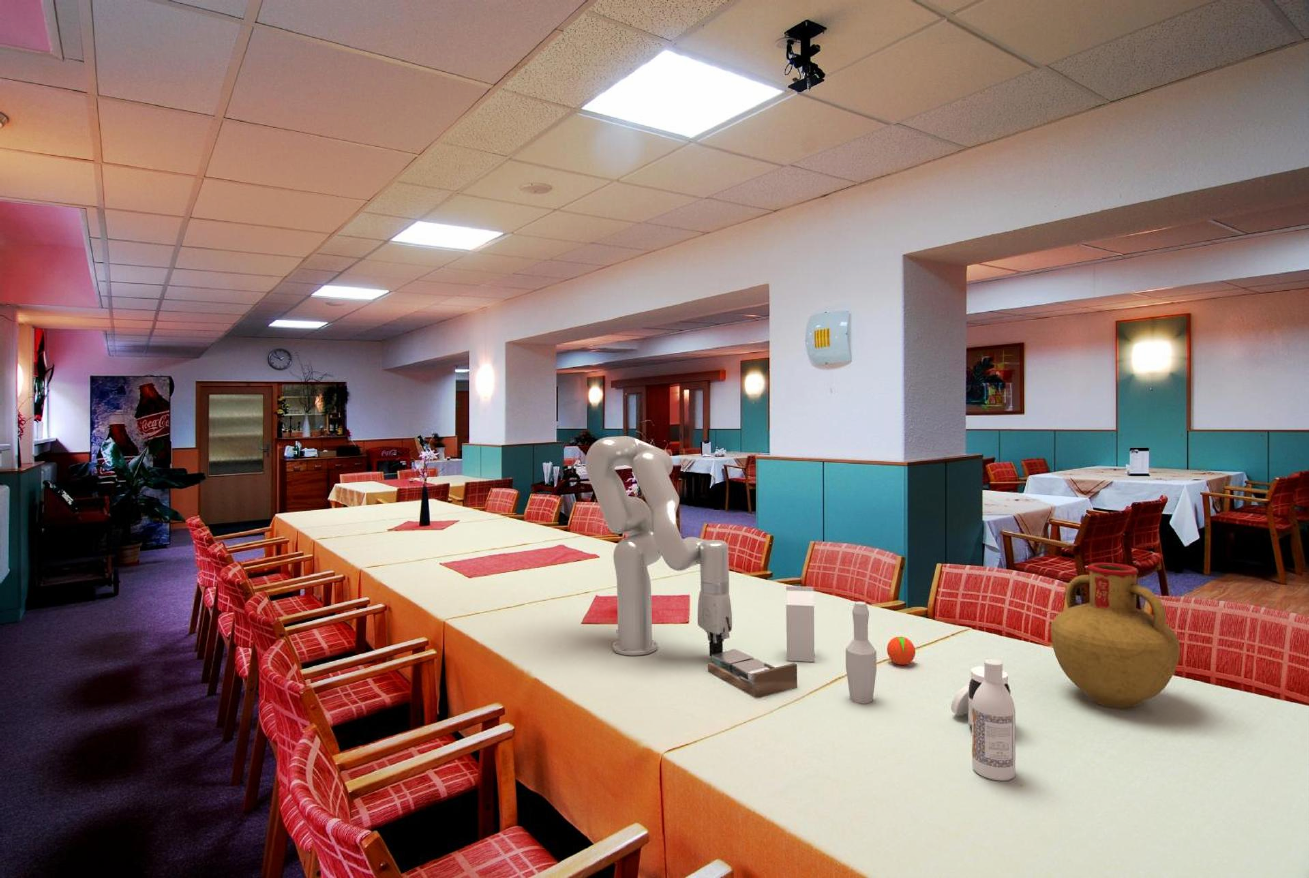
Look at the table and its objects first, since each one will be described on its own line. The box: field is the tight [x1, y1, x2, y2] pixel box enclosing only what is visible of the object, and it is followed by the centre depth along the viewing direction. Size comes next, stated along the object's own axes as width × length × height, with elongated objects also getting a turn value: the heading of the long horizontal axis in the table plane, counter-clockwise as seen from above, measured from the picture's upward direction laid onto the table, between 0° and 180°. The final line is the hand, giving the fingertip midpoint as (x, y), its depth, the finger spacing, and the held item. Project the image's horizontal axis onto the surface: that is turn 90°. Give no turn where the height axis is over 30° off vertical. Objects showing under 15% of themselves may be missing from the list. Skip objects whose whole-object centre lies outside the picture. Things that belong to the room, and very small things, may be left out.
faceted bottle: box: [845, 601, 878, 705], centre depth 155 cm, size 6×6×22 cm
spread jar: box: [950, 665, 1012, 729], centre depth 142 cm, size 12×11×12 cm
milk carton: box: [785, 585, 816, 663], centre depth 183 cm, size 7×7×19 cm
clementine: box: [886, 636, 916, 666], centre depth 176 cm, size 8×7×7 cm
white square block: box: [731, 658, 766, 680], centre depth 168 cm, size 8×8×4 cm
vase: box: [1050, 562, 1181, 709], centre depth 152 cm, size 24×24×30 cm
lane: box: [707, 658, 798, 699], centre depth 168 cm, size 20×12×6 cm, turn 30°
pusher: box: [748, 664, 782, 683], centre depth 164 cm, size 1×9×4 cm, turn 120°
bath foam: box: [971, 658, 1016, 782], centre depth 123 cm, size 7×7×20 cm
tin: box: [711, 648, 755, 673], centre depth 176 cm, size 8×8×4 cm
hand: (716, 656), depth 182 cm, fingers closed
